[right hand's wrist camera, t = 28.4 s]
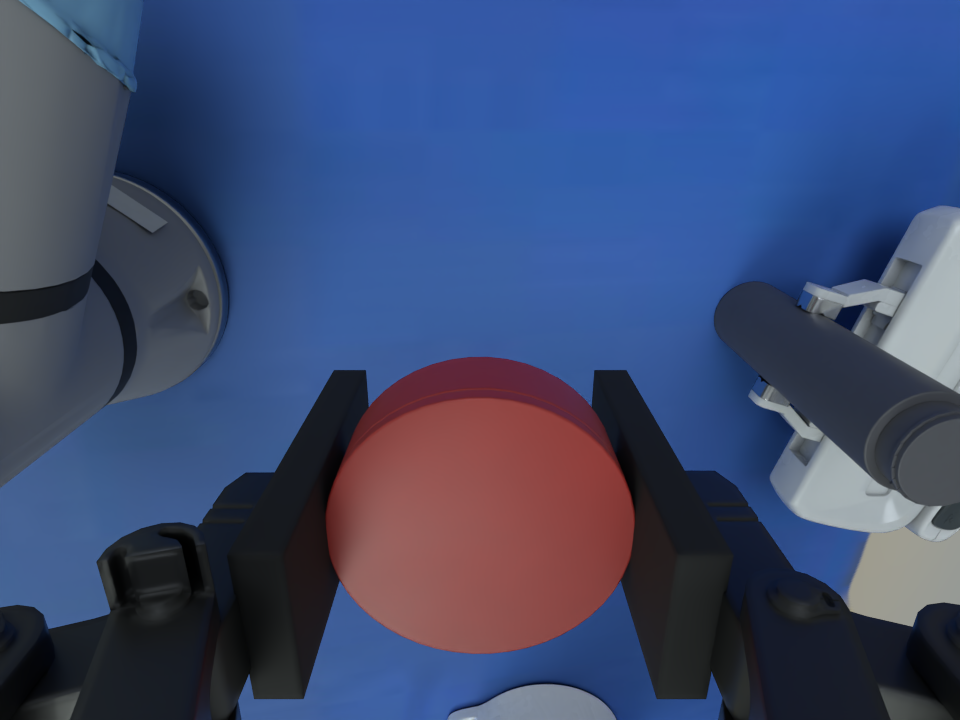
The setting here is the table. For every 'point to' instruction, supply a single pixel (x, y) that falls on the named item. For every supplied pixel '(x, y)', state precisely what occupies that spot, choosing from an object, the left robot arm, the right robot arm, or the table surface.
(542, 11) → the table surface
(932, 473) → the dark grey cylinder
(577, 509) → the lid
